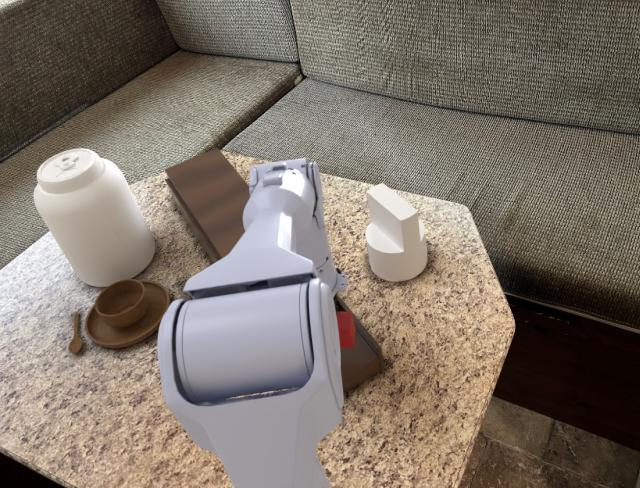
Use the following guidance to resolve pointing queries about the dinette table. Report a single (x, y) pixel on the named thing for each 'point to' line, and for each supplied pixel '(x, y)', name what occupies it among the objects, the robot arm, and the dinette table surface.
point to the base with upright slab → (394, 236)
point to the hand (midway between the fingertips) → (324, 332)
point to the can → (93, 217)
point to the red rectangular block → (346, 329)
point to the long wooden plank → (227, 228)
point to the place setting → (124, 314)
